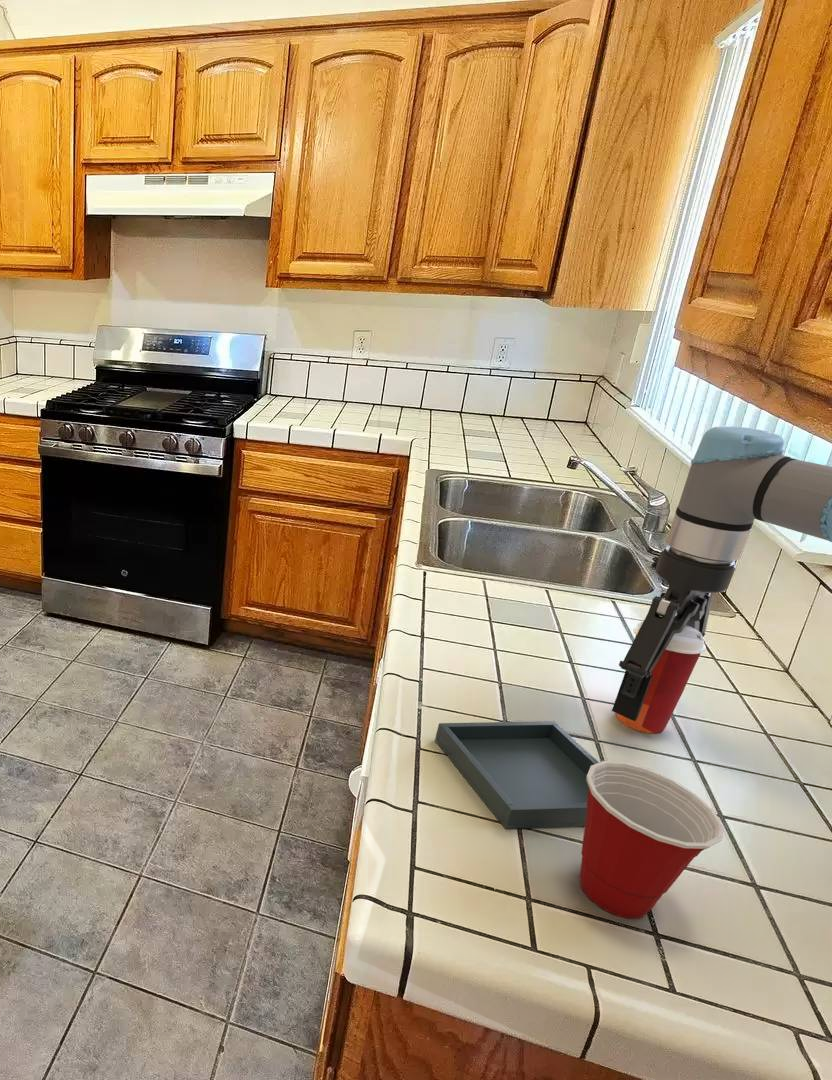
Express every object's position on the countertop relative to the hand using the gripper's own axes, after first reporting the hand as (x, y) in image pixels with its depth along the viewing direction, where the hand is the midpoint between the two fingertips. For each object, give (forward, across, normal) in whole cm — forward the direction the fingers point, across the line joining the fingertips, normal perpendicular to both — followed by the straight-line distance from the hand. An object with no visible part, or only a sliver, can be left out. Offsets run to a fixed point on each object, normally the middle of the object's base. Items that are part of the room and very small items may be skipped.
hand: (646, 700), depth 101 cm
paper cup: (+4, 0, 0) cm, 4 cm away
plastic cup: (+3, +36, +12) cm, 38 cm away
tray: (+3, +25, -2) cm, 26 cm away
